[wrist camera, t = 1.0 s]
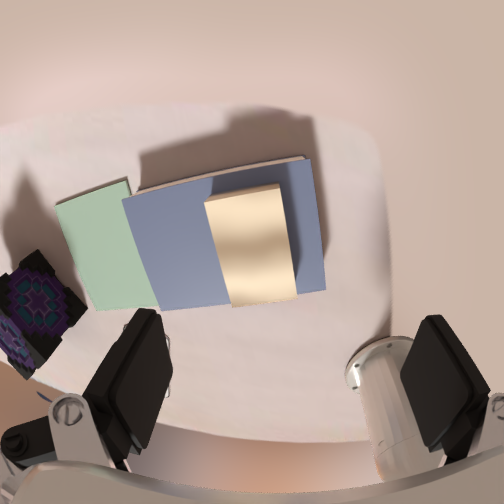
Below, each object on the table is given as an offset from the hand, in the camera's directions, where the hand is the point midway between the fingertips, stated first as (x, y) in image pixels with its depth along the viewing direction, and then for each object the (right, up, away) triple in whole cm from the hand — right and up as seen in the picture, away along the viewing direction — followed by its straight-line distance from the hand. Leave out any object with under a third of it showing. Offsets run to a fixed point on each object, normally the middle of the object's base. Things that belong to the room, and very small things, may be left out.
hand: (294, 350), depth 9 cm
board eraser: (-1, +4, +16) cm, 16 cm away
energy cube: (-34, -4, +28) cm, 44 cm away
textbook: (-4, +6, +21) cm, 22 cm away
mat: (-20, +3, +23) cm, 31 cm away
